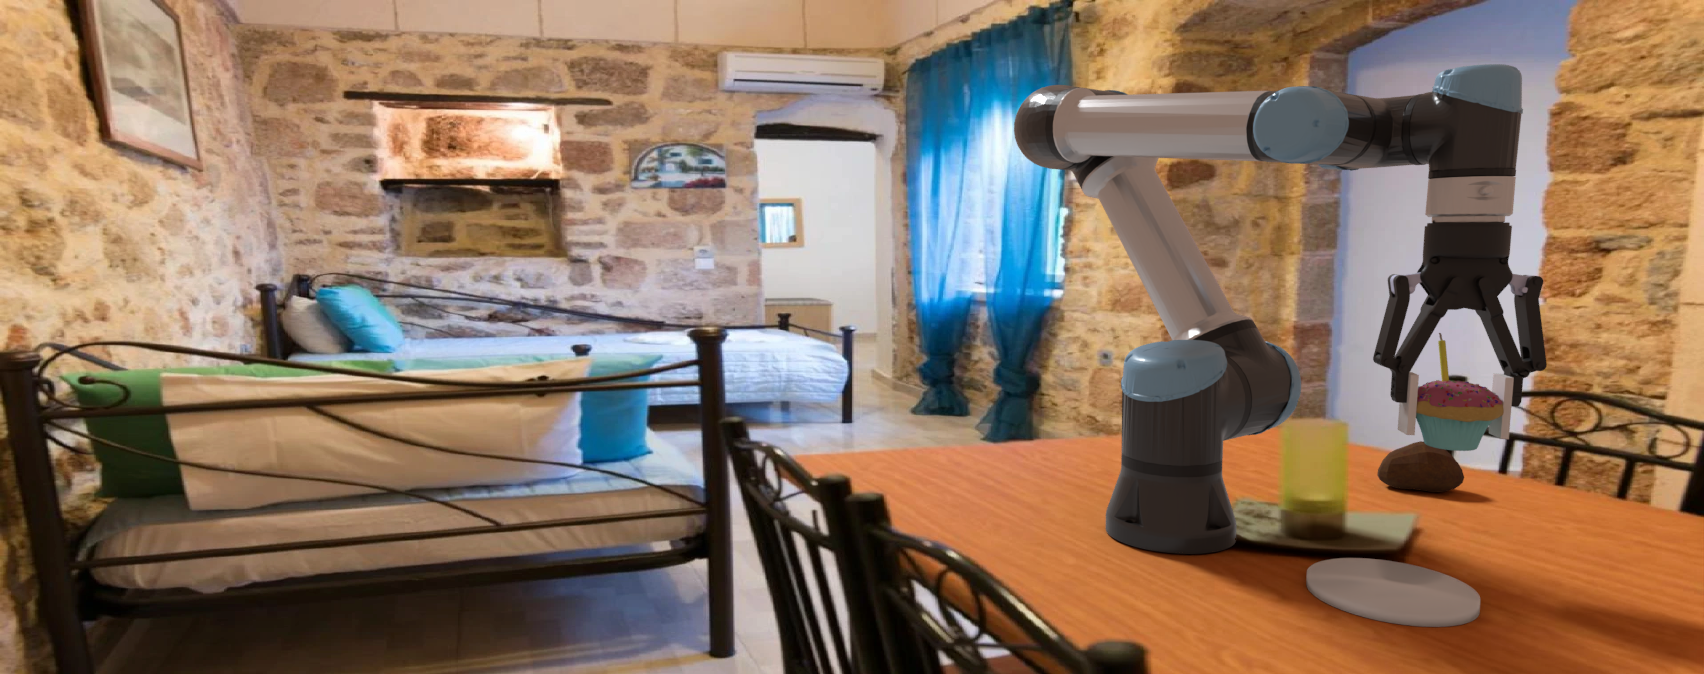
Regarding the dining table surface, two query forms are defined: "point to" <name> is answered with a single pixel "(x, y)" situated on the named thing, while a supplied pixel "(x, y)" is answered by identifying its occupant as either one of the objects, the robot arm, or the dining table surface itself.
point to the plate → (1393, 592)
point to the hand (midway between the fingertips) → (1451, 433)
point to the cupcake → (1455, 410)
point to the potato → (1421, 469)
